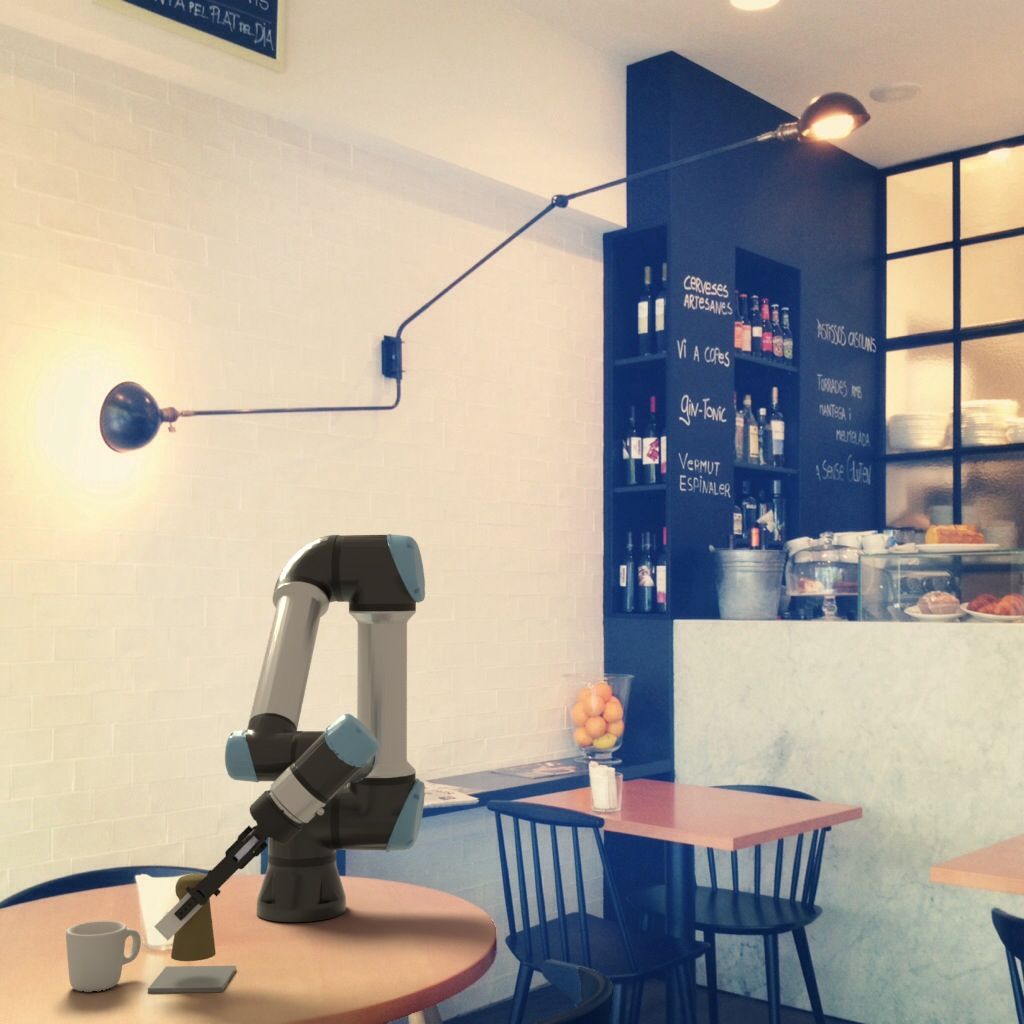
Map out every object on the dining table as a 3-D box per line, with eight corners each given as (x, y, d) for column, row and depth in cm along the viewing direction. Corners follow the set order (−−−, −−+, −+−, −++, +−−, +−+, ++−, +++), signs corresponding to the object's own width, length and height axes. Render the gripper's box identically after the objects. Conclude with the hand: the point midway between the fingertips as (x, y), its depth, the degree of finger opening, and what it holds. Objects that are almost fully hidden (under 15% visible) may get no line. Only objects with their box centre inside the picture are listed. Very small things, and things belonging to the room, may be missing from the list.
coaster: (165, 970, 173) (166, 966, 173) (236, 969, 173) (236, 965, 173) (147, 992, 163) (147, 988, 163) (222, 991, 163) (222, 987, 163)
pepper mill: (170, 962, 164) (172, 880, 165) (171, 951, 170) (172, 871, 171) (216, 959, 166) (217, 877, 167) (215, 947, 172) (216, 869, 172)
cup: (122, 970, 173) (123, 913, 174) (154, 981, 168) (156, 922, 169) (52, 988, 165) (54, 928, 165) (84, 1000, 160) (86, 938, 160)
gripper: (296, 837, 161) (169, 965, 159) (313, 815, 179) (199, 929, 177) (257, 797, 161) (130, 924, 159) (278, 779, 179) (164, 893, 177)
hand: (167, 927), depth 168 cm, fingers closed on pepper mill, 5 cm apart
